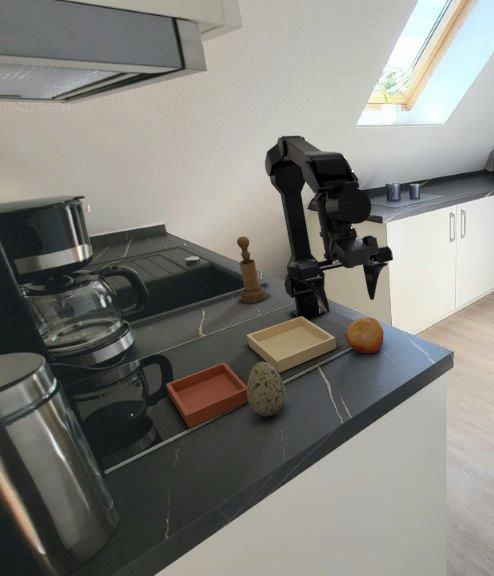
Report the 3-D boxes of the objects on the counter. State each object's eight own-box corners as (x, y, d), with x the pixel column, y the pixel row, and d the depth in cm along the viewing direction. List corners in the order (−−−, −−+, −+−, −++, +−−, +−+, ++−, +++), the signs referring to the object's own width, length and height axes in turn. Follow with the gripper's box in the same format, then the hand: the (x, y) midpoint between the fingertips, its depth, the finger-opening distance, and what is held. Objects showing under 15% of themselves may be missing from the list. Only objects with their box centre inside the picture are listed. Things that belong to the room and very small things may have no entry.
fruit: (392, 332, 92) (384, 313, 86) (382, 364, 87) (373, 346, 81) (360, 328, 94) (349, 309, 88) (348, 359, 90) (336, 341, 83)
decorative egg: (246, 413, 69) (234, 363, 66) (278, 397, 73) (269, 349, 69) (261, 430, 65) (249, 378, 62) (295, 412, 69) (286, 362, 66)
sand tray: (248, 345, 90) (246, 335, 89) (303, 325, 99) (301, 315, 98) (279, 372, 80) (277, 361, 79) (336, 348, 89) (335, 337, 88)
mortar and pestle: (251, 305, 111) (238, 241, 104) (236, 300, 114) (223, 238, 107) (271, 296, 116) (260, 235, 109) (257, 292, 119) (245, 232, 112)
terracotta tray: (169, 395, 74) (165, 383, 73) (227, 372, 81) (224, 361, 80) (189, 428, 66) (185, 415, 65) (251, 399, 73) (248, 388, 72)
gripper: (297, 232, 63) (317, 327, 66) (401, 216, 73) (413, 299, 76) (280, 232, 72) (297, 315, 76) (374, 217, 82) (385, 292, 85)
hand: (350, 305), depth 78 cm, fingers open, 9 cm apart
